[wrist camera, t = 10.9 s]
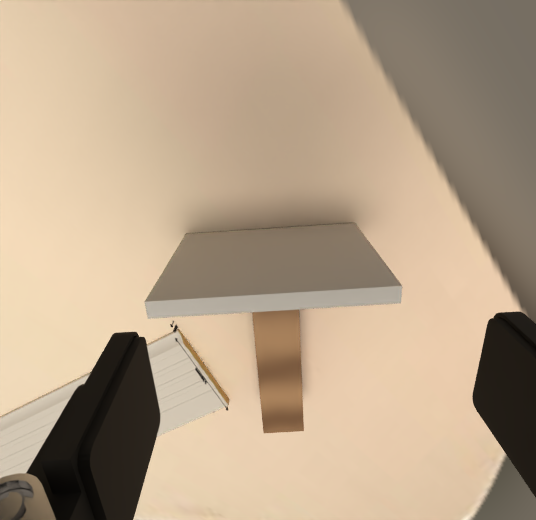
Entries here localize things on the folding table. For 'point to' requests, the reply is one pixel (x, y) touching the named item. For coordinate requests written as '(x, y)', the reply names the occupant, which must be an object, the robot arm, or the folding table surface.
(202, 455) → the folding table surface
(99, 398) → the robot arm
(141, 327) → the folding table surface
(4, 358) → the folding table surface
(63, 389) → the grey flat board
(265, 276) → the panel
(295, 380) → the rail
